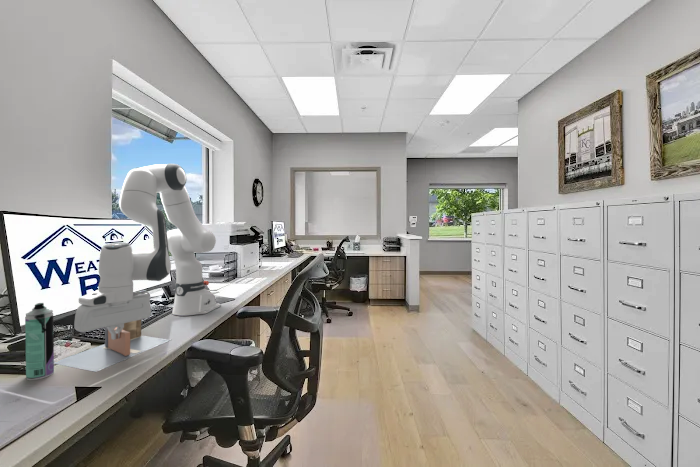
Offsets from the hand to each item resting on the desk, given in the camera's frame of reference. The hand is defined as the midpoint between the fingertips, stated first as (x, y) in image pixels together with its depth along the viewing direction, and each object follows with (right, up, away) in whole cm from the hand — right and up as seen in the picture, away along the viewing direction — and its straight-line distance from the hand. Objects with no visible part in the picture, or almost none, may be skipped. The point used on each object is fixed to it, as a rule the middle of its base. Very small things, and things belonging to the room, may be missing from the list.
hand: (115, 338), depth 101 cm
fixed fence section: (-5, -5, +12) cm, 14 cm away
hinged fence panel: (-2, -5, +3) cm, 6 cm away
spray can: (-11, -6, -14) cm, 18 cm away
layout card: (-2, -5, +4) cm, 7 cm away
